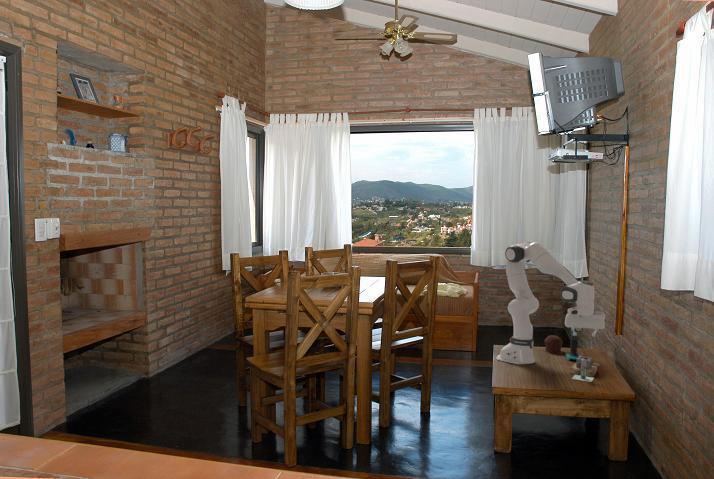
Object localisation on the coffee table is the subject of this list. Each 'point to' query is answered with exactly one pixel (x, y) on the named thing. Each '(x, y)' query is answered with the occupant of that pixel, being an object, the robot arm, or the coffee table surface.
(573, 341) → the power drill
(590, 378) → the mat
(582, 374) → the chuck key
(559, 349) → the muffin
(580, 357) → the block
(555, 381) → the coffee table surface
